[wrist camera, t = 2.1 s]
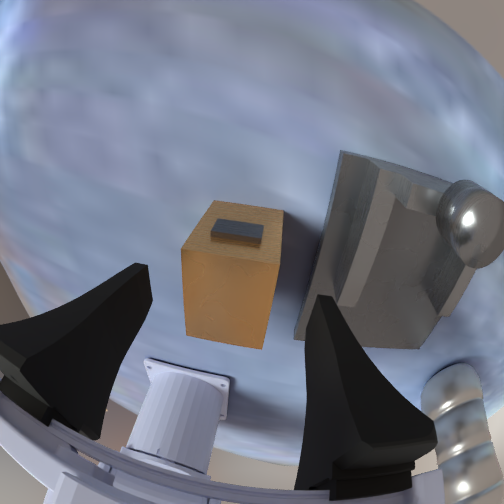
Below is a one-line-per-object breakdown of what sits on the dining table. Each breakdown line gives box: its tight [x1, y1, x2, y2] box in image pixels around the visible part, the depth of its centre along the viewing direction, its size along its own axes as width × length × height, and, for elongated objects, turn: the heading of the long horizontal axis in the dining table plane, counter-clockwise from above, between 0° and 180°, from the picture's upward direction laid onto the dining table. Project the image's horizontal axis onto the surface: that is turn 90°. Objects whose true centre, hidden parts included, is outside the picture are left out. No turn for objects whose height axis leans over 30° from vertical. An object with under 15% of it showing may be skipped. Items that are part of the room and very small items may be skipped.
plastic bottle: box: [421, 363, 504, 504], centre depth 11 cm, size 6×7×20 cm
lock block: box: [181, 200, 283, 350], centre depth 13 cm, size 5×4×5 cm
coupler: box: [294, 150, 504, 349], centre depth 12 cm, size 13×10×6 cm
